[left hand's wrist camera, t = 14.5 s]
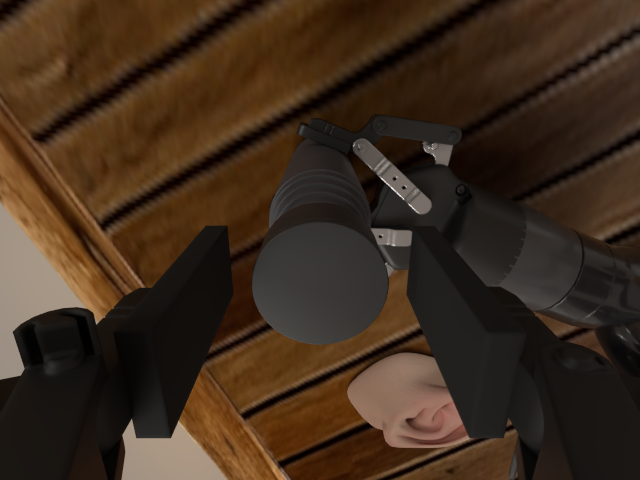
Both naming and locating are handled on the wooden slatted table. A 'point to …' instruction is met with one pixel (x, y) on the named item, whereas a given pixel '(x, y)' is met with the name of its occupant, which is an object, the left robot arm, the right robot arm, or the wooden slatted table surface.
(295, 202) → the bottle
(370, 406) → the anatomical model
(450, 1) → the wooden slatted table surface
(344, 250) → the cap
